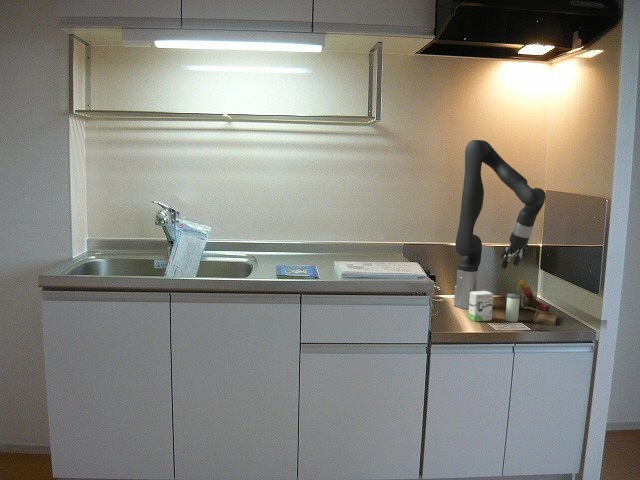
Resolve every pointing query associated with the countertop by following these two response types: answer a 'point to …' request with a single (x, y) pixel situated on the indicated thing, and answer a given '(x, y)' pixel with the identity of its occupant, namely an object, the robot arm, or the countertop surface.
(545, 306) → the slingshot
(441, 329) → the countertop surface
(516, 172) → the robot arm
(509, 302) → the canister
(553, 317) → the tray
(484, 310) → the ink box
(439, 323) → the countertop surface
